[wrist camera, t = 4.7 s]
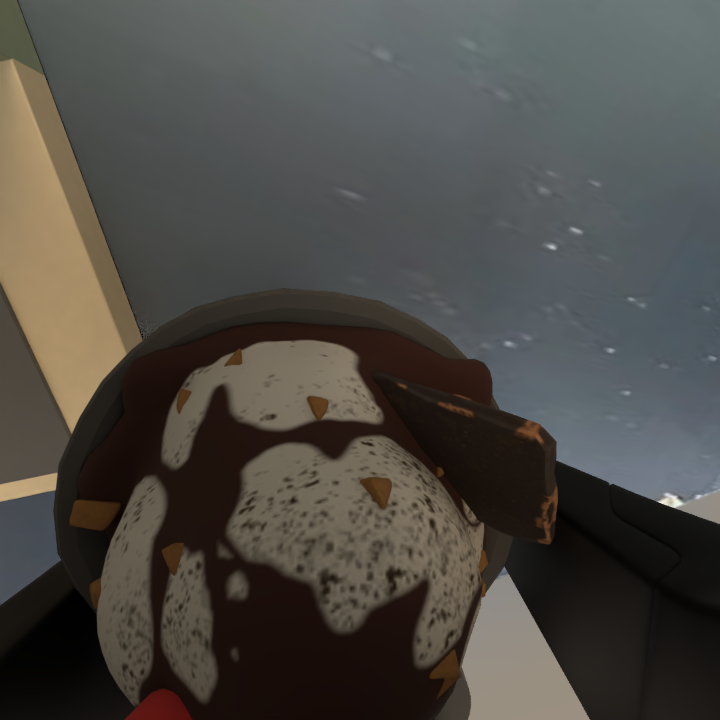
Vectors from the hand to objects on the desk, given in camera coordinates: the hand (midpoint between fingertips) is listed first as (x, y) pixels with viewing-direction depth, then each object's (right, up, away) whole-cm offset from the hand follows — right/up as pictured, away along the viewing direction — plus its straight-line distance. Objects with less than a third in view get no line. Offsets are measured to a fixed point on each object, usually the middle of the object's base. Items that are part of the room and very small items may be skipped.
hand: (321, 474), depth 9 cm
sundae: (-1, +2, +7) cm, 7 cm away
